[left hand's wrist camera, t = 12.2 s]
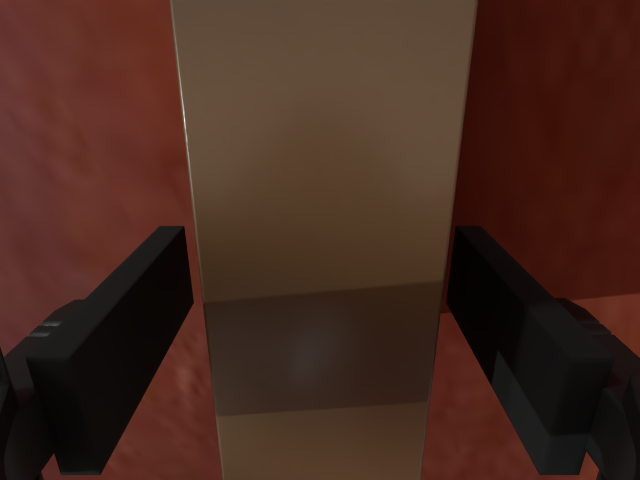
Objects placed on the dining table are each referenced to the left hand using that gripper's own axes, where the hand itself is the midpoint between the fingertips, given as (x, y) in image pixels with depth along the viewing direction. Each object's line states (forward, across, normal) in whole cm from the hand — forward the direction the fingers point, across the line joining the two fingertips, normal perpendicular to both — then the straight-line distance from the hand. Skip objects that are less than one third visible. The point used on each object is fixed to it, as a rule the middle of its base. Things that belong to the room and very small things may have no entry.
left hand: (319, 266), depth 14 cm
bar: (+3, 0, -24) cm, 24 cm away
